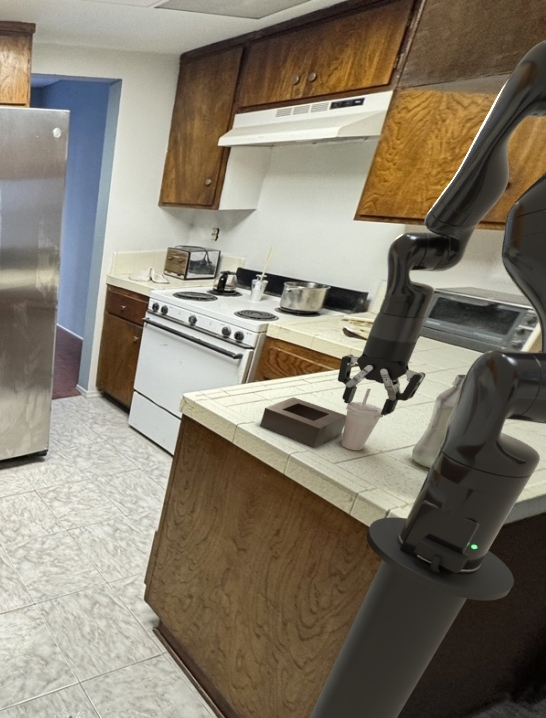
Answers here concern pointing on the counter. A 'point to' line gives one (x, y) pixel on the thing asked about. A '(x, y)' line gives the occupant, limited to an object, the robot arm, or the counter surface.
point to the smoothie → (359, 423)
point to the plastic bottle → (437, 425)
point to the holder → (303, 421)
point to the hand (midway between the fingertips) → (365, 408)
